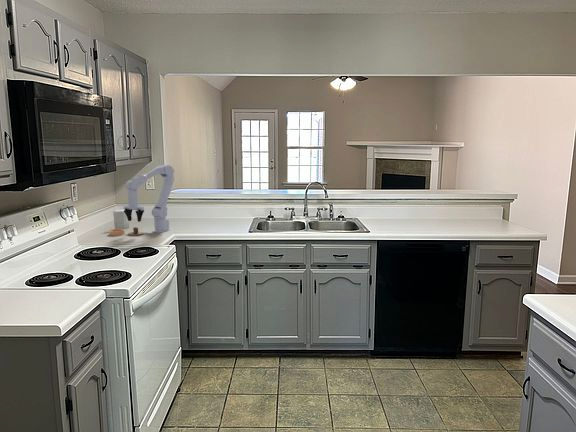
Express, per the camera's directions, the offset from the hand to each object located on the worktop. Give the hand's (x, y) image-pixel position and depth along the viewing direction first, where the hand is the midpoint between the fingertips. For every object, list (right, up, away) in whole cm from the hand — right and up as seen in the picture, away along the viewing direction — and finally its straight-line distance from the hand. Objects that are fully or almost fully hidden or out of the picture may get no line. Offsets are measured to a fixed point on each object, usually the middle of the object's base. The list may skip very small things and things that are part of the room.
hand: (134, 221), depth 280 cm
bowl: (-13, -9, +4) cm, 16 cm away
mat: (0, -9, +4) cm, 10 cm away
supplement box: (-18, -6, +26) cm, 32 cm away
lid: (0, -9, +3) cm, 9 cm away
